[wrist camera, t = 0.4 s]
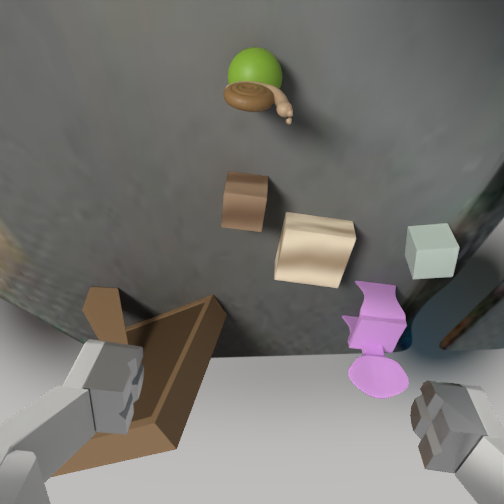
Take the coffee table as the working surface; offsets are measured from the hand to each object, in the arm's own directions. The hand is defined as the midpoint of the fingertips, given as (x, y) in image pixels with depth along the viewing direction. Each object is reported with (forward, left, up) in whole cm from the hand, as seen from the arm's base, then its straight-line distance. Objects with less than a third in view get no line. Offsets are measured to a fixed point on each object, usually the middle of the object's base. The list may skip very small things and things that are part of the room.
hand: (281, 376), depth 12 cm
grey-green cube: (+22, +23, -39) cm, 50 cm away
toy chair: (+35, +19, -39) cm, 56 cm away
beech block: (+25, +8, -39) cm, 47 cm away
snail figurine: (+3, -2, -39) cm, 39 cm away
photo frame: (+42, -16, -39) cm, 60 cm away
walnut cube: (+18, -2, -39) cm, 43 cm away
